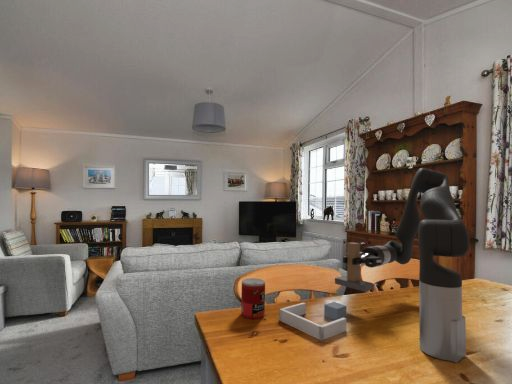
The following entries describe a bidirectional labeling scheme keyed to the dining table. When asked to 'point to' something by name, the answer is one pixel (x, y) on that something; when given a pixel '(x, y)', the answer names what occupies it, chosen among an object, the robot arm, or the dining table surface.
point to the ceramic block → (334, 311)
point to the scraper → (353, 271)
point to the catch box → (310, 322)
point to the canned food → (253, 298)
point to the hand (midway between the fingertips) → (348, 261)
